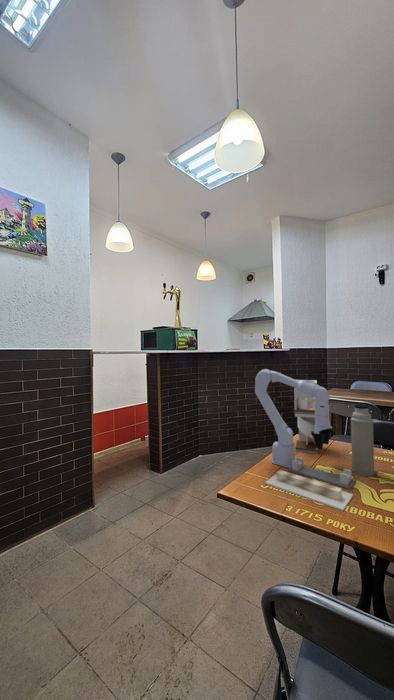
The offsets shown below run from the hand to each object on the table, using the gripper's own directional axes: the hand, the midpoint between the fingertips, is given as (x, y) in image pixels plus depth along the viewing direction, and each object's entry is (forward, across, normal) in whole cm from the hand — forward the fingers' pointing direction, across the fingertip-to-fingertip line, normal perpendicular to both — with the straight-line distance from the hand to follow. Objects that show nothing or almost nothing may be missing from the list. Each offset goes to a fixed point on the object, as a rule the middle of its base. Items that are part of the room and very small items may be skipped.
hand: (322, 446), depth 121 cm
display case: (+10, +18, +14) cm, 25 cm away
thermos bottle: (+10, +6, -14) cm, 18 cm away
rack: (+9, -9, -2) cm, 13 cm away
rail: (+9, -23, -2) cm, 25 cm away
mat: (+9, -23, -2) cm, 25 cm away
